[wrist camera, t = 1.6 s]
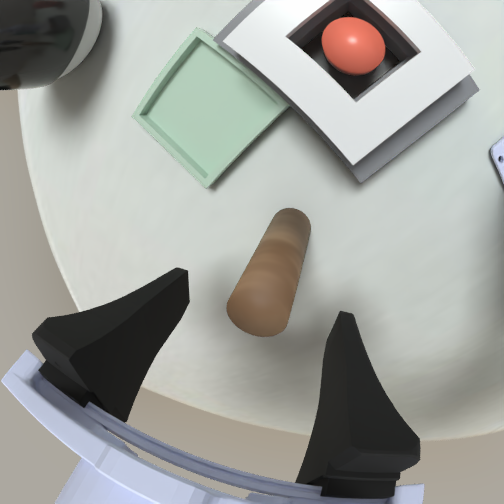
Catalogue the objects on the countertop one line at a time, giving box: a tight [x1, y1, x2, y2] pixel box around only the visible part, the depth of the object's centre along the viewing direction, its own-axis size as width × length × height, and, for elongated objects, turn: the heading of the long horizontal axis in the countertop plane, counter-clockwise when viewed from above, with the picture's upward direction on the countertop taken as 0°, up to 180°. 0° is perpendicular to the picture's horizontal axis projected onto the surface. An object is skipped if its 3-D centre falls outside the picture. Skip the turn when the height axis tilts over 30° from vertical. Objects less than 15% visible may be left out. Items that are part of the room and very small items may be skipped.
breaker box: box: [213, 0, 479, 183], centre depth 10 cm, size 12×10×4 cm
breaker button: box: [322, 17, 385, 76], centre depth 10 cm, size 3×3×2 cm
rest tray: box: [132, 27, 290, 188], centre depth 16 cm, size 8×8×1 cm
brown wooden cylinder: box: [227, 208, 311, 337], centre depth 16 cm, size 3×3×9 cm
